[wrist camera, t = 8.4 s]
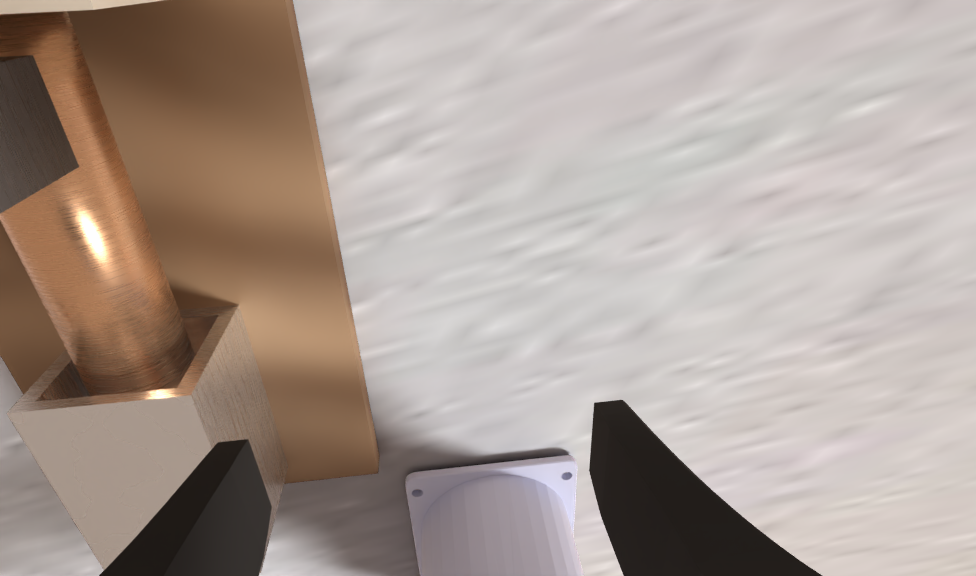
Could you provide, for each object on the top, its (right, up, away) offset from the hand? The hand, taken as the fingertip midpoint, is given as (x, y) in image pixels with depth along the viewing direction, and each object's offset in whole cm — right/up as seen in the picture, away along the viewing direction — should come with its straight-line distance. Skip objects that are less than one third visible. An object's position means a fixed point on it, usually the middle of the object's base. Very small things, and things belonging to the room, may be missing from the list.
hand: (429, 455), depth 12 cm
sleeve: (-10, 0, +10) cm, 14 cm away
